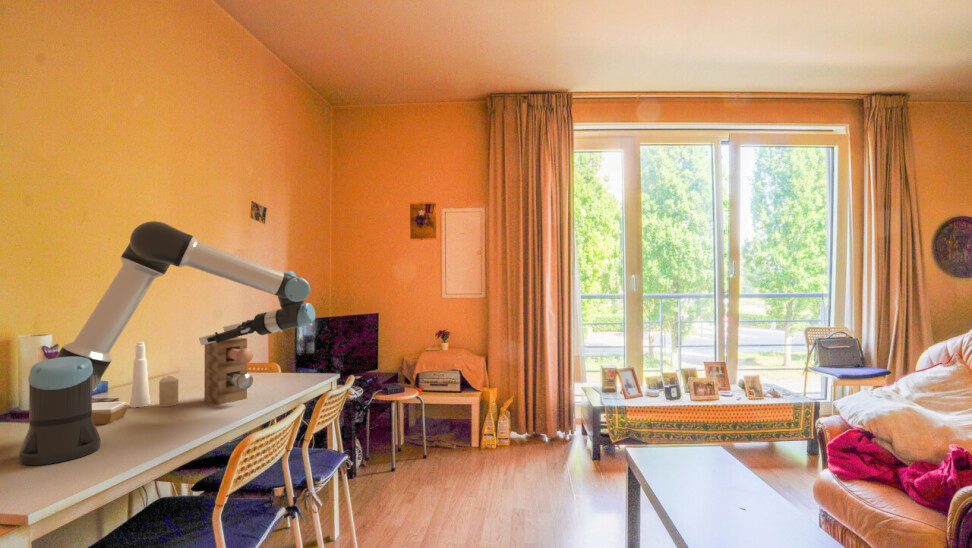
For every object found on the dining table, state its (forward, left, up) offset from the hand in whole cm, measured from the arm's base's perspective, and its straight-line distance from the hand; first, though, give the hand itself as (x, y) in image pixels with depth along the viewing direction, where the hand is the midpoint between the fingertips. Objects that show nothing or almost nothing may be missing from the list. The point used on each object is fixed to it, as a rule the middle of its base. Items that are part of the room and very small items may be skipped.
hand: (213, 335), depth 162 cm
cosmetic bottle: (+14, +20, -24) cm, 35 cm away
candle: (+9, +12, -24) cm, 29 cm away
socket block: (+5, -5, -24) cm, 25 cm away
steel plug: (-2, -7, -19) cm, 20 cm away
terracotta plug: (-2, -7, -10) cm, 12 cm away
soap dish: (0, +31, -25) cm, 39 cm away
